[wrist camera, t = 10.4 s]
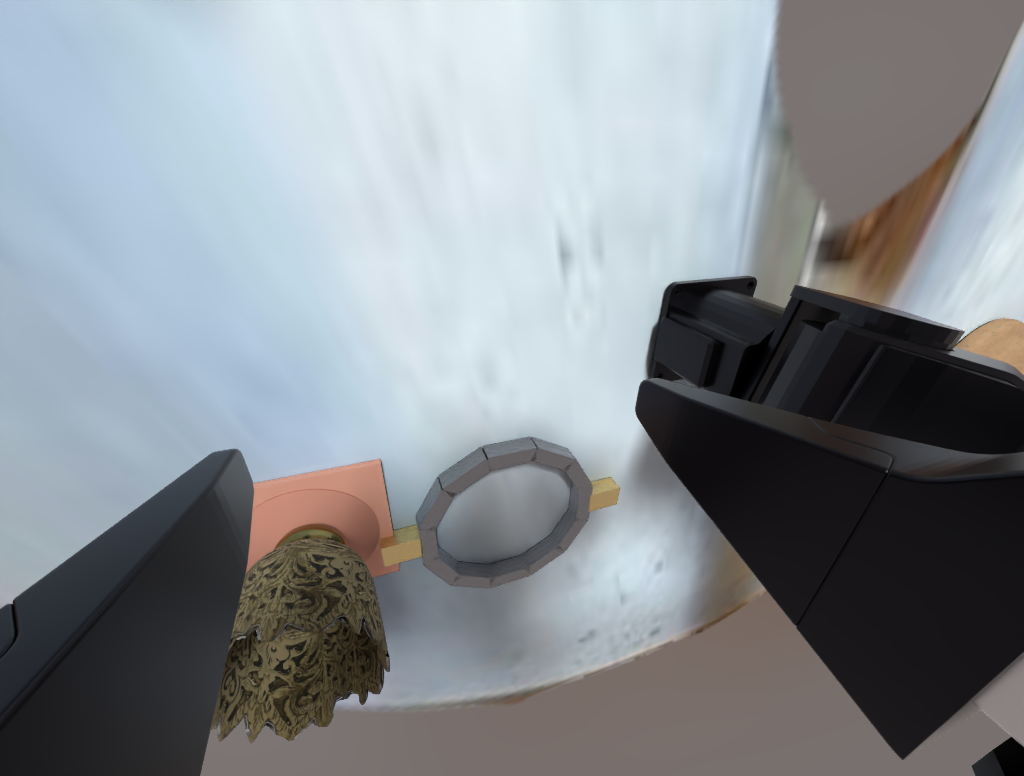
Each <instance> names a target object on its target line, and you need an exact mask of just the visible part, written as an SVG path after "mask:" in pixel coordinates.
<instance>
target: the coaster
mask: <svg viewBox="0 0 1024 776" xmlns="http://www.w3.org/2000/svg"><path fill="white" fill-rule="evenodd" d="M253 485H254V500H253V511H252V523H251V534H250V545H249V555H248V564H247V569H246V573H247V571H248V570H249V569H250V568H251V567H252V566H253V565H254V564H255V563H256V562H257V561H258V560H260V559H261V558H262V557H264V556H265V555H266V554H268V553H269V552H271V551H273V550H274V548H275V546H276V545H277V543H278V542H279V541H280V539H281V538H282V537H283V536H284V535H285V534H286V533H288V532H289V531H291V530H292V529H294V528H297V527H299V526H302V525H307V524H323V525H327V526H330V527H332V528H334V529H335V530H337V531H338V532H339V533H340V535H341V536H342V538H343V539H344V541H345V544H346V546H348V547H350V548H351V549H352V550H354V551H355V552H356V553H357V554H358V555H359V556H360V557H361V558H362V559H363V561H364V562H365V564H366V565H367V567H368V569H369V572H370V574H371V576H372V578H374V577H377V576H381V575H385V574H388V573H392V572H396V571H399V570H400V568H399V563H396V564H393V565H389V566H384V561H383V556H382V551H381V543H380V539H381V538H385V537H389V536H393V528H392V523H391V517H390V511H389V506H388V500H387V495H386V489H385V483H384V478H383V472H382V467H381V461H380V459H378V460H373V461H368V462H363V463H357V464H352V465H347V466H342V467H337V468H331V469H326V470H321V471H316V472H311V473H305V474H300V475H295V476H290V477H285V478H279V479H274V480H269V481H264V482H259V483H254V484H253Z"/></svg>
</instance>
